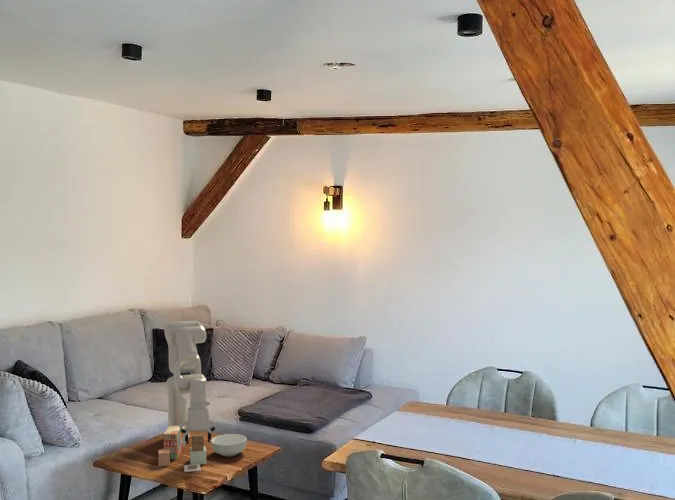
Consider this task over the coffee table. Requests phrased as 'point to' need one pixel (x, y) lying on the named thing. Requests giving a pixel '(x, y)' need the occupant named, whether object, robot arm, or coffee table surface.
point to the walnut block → (198, 442)
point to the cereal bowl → (229, 444)
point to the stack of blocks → (174, 441)
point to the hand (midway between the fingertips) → (198, 442)
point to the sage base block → (197, 456)
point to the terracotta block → (164, 457)
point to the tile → (192, 468)
